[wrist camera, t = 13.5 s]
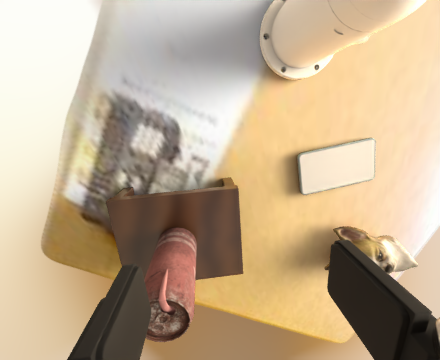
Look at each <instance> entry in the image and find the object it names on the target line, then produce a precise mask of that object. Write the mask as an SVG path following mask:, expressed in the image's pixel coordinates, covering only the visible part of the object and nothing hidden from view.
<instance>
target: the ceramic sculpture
mask: <svg viewBox="0 0 440 360" xmlns="http://www.w3.org/2000/svg"><path fill="white" fill-rule="evenodd" d="M333 230H334V232H336V234H337V236H338V237H339V239H340V240H349V241H351V242H352V243H353V244H354V245H355V246H357V247H358V248H359V249H360V250H361V251H362V252H363V253H365V254H366V255H367V256H368V257H369V258H370V259H371V260H373V261H374V262H375V263H376V264H377V265H378V266H380V267H381V268H382V269H383V270H384V271H385V272H386V273H388V274H390V273H392V272H397V271H404V270H407V269H409V268H412V267H417V266H418V264H417V263H416V262H415V261H414V259H413V258H412V256H411V255H410V254H409V253H408V252H407V251H406V249H405V248H404V247H403V246H402V245H401V244H400V243H399V242H398V241H397V239H395V238H393V237H391V236H387V235H386V236H380V237H378V238H373V237H370V236H369V235H368V234H367V233H366V232H365V231H363V230H360V229H357V228H353V227H348V226H347V227H344V226H343V227H339V228H335V229H333ZM329 265H330V263H329V264H328V265H327V266H326V267H325V270H329Z"/></svg>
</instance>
